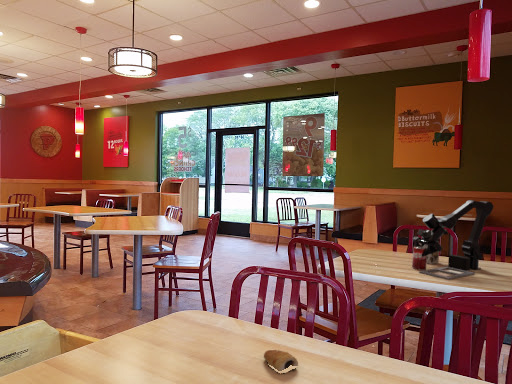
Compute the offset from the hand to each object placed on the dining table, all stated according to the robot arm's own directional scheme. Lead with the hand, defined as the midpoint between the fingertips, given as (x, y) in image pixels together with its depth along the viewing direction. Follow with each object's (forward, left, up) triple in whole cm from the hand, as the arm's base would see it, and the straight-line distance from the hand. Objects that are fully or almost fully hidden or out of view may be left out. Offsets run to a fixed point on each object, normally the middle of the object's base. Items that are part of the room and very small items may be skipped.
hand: (417, 254), depth 213 cm
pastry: (+136, +50, -8) cm, 145 cm away
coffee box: (-24, -7, -8) cm, 26 cm away
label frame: (-5, +14, -8) cm, 17 cm away
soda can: (-1, +1, -8) cm, 8 cm away
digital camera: (-25, +11, -8) cm, 29 cm away
